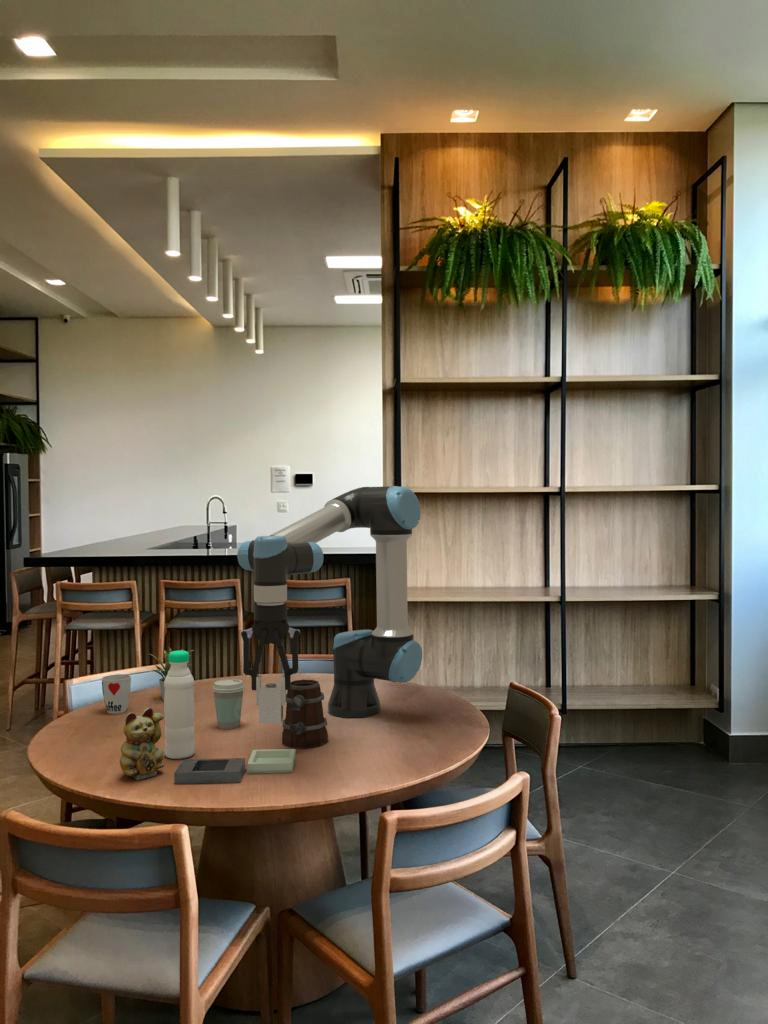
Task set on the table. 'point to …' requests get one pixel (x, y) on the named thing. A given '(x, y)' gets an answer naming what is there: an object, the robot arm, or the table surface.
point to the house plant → (166, 668)
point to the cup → (116, 692)
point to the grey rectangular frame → (209, 771)
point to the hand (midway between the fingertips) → (271, 703)
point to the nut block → (270, 703)
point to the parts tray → (271, 761)
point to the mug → (304, 716)
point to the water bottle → (179, 708)
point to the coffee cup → (228, 702)
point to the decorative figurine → (142, 745)
